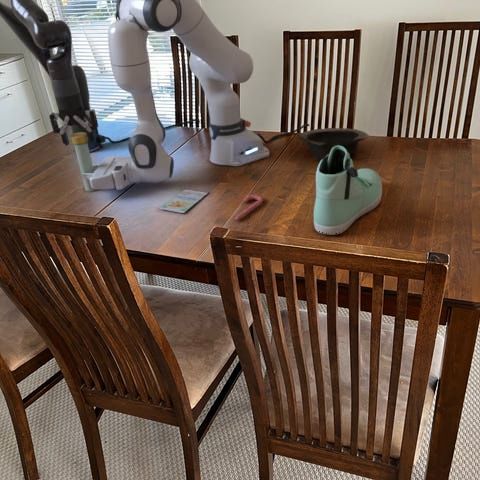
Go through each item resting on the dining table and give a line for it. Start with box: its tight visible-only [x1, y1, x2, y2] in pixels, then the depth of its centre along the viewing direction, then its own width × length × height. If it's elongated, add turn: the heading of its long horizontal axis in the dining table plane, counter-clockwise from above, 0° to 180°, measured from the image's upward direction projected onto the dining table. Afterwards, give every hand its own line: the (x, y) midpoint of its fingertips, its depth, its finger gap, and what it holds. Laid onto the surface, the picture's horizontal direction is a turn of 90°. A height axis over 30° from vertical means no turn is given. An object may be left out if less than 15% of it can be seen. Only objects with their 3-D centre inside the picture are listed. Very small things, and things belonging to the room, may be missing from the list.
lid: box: [70, 132, 88, 145], centre depth 154 cm, size 5×5×2 cm
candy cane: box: [234, 194, 264, 222], centre depth 143 cm, size 6×15×2 cm, turn 145°
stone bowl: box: [298, 127, 370, 162], centre depth 173 cm, size 25×25×9 cm
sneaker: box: [313, 146, 383, 236], centre depth 133 cm, size 14×35×20 cm, turn 152°
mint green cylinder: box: [73, 142, 98, 192], centre depth 159 cm, size 4×4×18 cm
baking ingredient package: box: [158, 188, 208, 214], centre depth 150 cm, size 9×1×15 cm
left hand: (79, 143), depth 155 cm, fingers open, 7 cm apart
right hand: (85, 172), depth 161 cm, fingers closed on mint green cylinder, 4 cm apart
